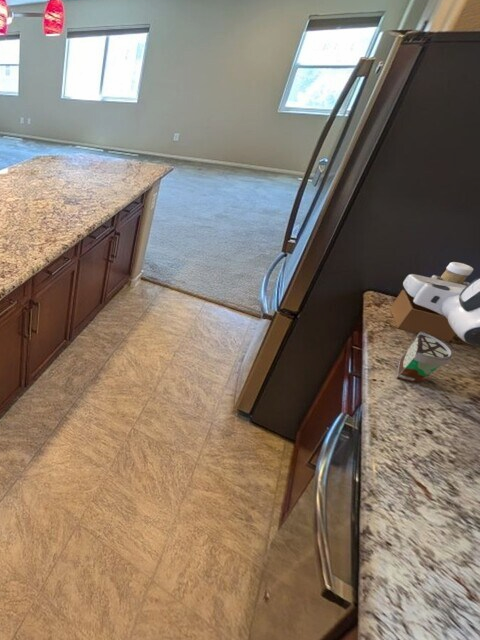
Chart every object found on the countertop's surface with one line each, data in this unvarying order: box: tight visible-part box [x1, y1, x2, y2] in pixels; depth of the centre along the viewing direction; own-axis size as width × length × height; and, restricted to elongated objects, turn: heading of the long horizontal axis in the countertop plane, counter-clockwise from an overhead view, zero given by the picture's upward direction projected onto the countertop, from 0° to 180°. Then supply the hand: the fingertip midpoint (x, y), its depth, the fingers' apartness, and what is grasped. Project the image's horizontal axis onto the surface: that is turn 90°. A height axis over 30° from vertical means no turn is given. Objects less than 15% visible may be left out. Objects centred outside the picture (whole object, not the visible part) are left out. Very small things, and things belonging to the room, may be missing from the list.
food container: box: [396, 332, 452, 384], centre depth 100 cm, size 12×6×10 cm, turn 132°
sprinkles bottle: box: [440, 261, 474, 284], centre depth 112 cm, size 5×5×13 cm
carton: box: [389, 289, 457, 343], centre depth 118 cm, size 11×12×8 cm
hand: (448, 280), depth 112 cm, fingers closed on sprinkles bottle, 4 cm apart
